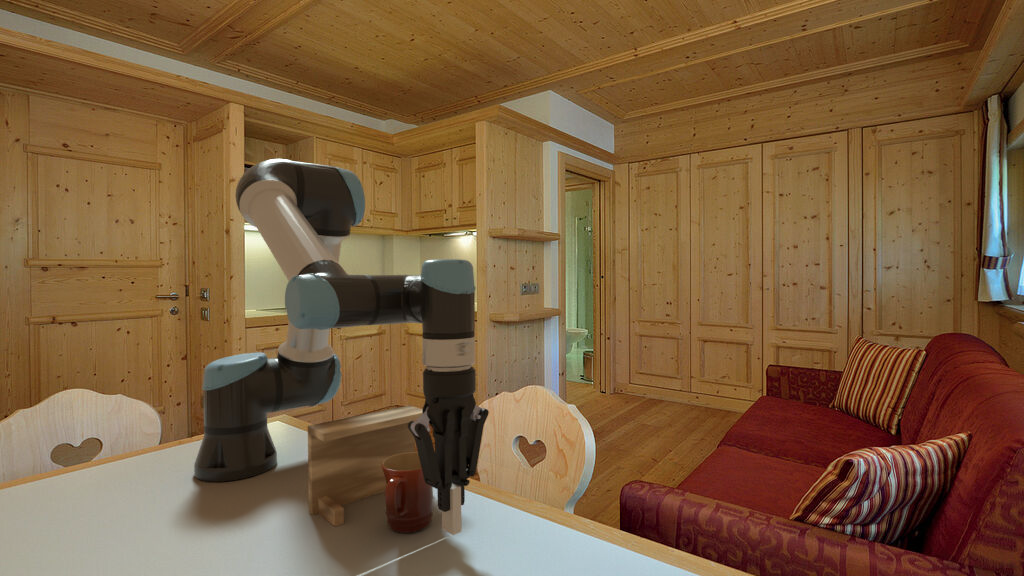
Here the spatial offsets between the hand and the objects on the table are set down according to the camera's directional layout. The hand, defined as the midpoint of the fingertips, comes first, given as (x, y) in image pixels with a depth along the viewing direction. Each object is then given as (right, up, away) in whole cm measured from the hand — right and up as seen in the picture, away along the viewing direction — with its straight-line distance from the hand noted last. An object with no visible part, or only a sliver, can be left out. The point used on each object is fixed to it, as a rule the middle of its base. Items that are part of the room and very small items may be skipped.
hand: (451, 529), depth 74 cm
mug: (-8, -3, +7) cm, 11 cm away
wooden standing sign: (-16, -3, +17) cm, 23 cm away
